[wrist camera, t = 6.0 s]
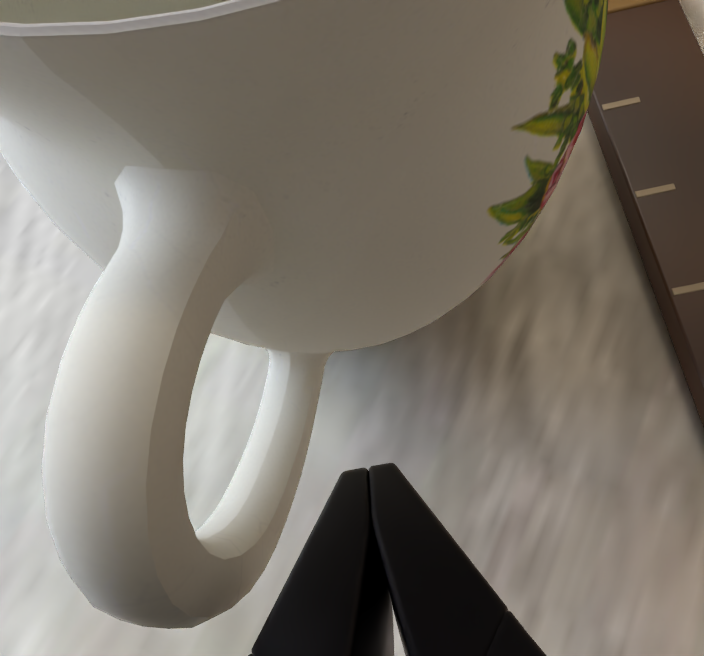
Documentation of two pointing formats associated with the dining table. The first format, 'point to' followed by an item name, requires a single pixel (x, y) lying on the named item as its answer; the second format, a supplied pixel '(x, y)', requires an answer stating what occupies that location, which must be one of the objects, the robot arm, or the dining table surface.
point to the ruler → (659, 158)
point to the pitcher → (261, 232)
